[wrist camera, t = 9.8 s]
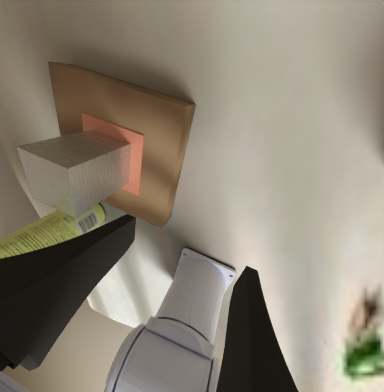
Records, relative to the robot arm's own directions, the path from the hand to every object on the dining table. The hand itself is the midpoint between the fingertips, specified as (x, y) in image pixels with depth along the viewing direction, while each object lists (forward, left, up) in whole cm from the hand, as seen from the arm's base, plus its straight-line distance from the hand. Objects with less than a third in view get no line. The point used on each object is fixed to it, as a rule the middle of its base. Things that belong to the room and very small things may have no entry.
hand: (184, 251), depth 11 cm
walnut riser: (-1, +12, -10) cm, 16 cm away
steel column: (0, +12, -8) cm, 14 cm away
